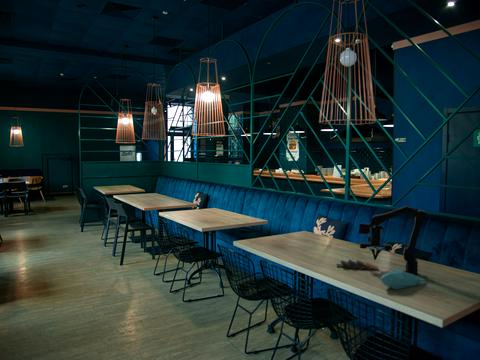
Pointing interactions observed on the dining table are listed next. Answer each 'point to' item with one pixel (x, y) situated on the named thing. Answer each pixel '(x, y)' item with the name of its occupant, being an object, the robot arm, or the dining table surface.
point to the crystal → (400, 279)
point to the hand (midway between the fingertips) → (374, 259)
